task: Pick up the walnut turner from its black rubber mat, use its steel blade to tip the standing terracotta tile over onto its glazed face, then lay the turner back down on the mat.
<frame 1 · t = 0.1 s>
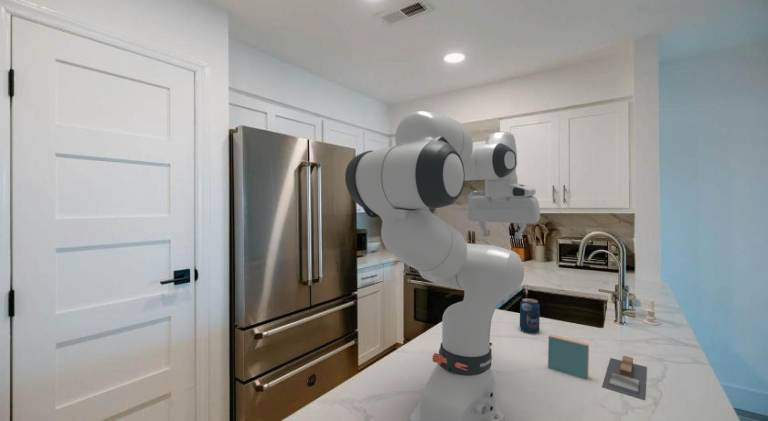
hand: (502, 237, 96), 39 cm above the counter, tool pointing down, fingers open, 8 cm apart
soda can: (529, 331, 126), on the counter
tile: (567, 374, 94), on the counter
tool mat: (625, 378, 92), on the counter
clay tablet: (468, 348, 113), on the counter
chess piece: (650, 323, 137), on the counter
turner: (625, 376, 92), point 1 cm above the counter, touching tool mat
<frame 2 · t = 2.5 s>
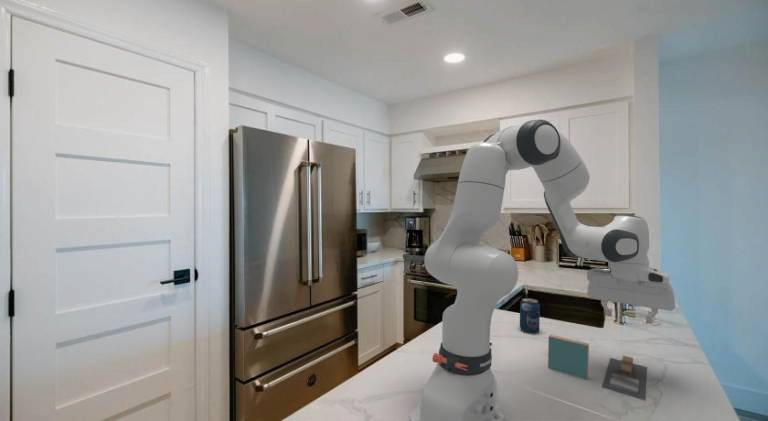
hand: (628, 319, 95), 16 cm above the counter, tool pointing down, fingers open, 8 cm apart
nothing on the counter moved.
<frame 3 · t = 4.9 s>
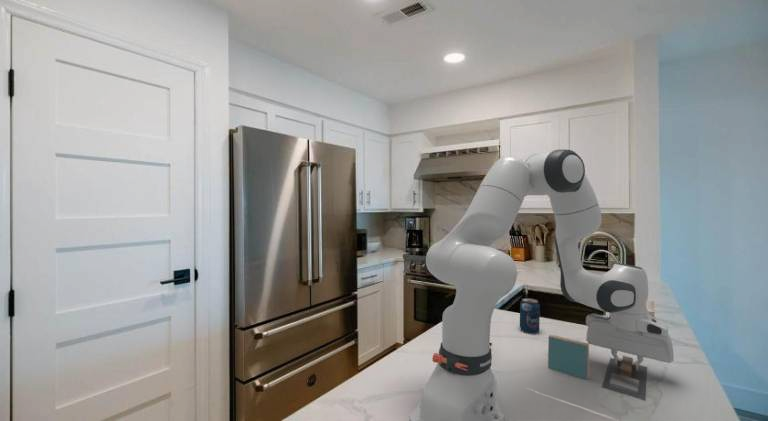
hand: (626, 367, 95), 2 cm above the counter, tool pointing down, fingers closed on turner, 2 cm apart
turner: (625, 376, 92), point 1 cm above the counter, touching gripper, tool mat
everything else where it was.
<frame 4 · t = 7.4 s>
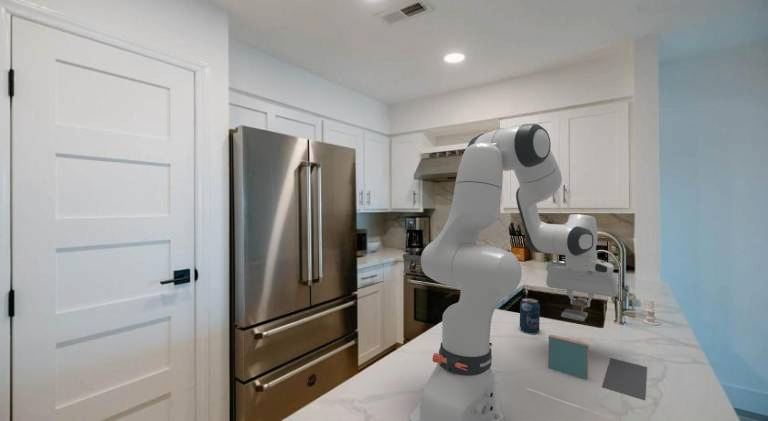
hand: (580, 305, 108), 16 cm above the counter, tool pointing down, fingers closed on turner, 2 cm apart
turner: (577, 311, 105), point 15 cm above the counter, touching gripper
everything else where it was.
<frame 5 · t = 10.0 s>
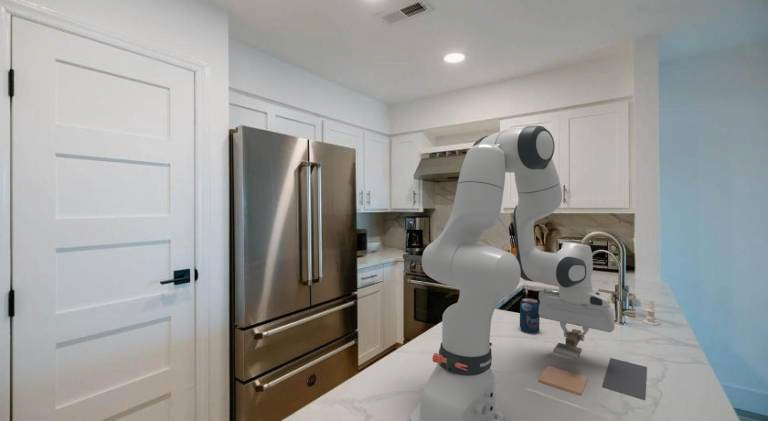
hand: (574, 338, 101), 7 cm above the counter, tool pointing down, fingers closed on turner, 2 cm apart
tile: (566, 374, 93), on the counter, tilted 90°
turner: (571, 346, 98), point 6 cm above the counter, touching gripper
everything else where it was.
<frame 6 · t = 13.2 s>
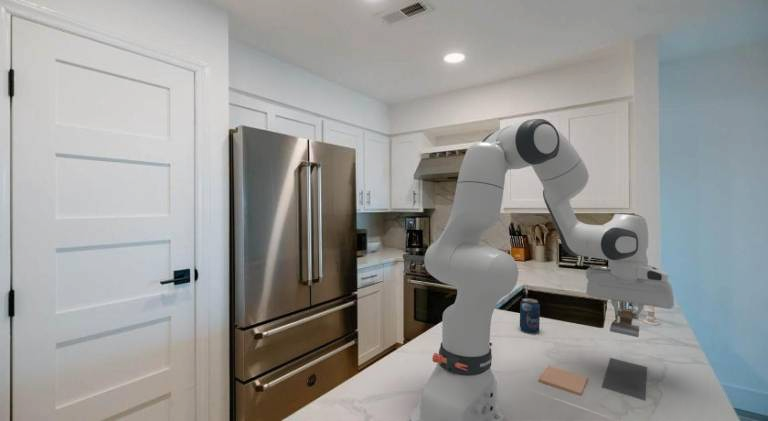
hand: (627, 317, 95), 16 cm above the counter, tool pointing down, fingers closed on turner, 2 cm apart
turner: (626, 324, 92), point 15 cm above the counter, touching gripper
everything else where it was.
when the fingers open (3 cm above the counter, at t = 15.9 s): turner drops 1 cm, resting on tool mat.
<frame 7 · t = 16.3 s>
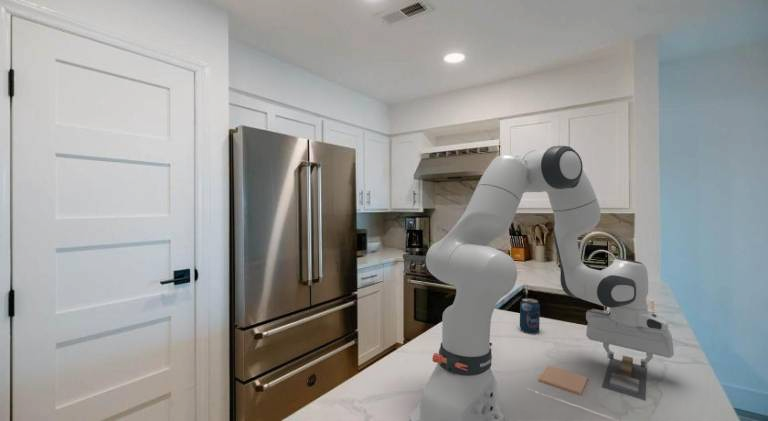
hand: (626, 362, 95), 3 cm above the counter, tool pointing down, fingers open, 6 cm apart
turner: (625, 376, 92), point 1 cm above the counter, touching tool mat
everything else where it was.
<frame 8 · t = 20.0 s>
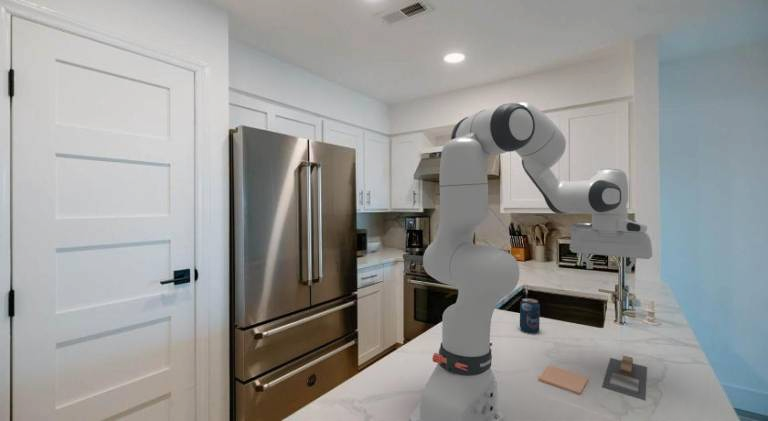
hand: (608, 270, 98), 29 cm above the counter, tool pointing down, fingers open, 8 cm apart
nothing on the counter moved.
at the end: tile tilted 90°; the gripper is holding nothing; turner inside the target area (0.2 cm from its centre), point 0.6 cm above the counter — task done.
